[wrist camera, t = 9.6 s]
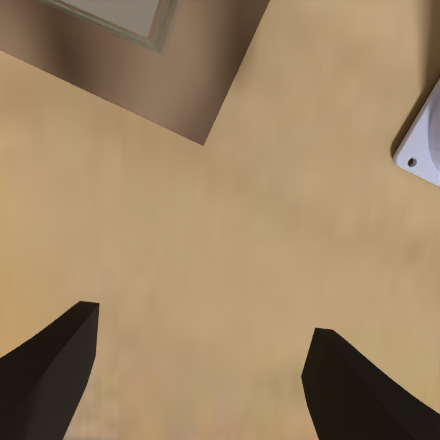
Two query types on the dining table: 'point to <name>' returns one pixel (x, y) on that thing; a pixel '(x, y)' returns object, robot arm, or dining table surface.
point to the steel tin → (126, 18)
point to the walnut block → (141, 58)
